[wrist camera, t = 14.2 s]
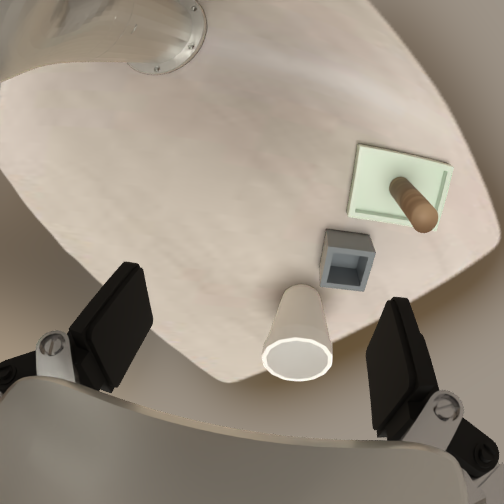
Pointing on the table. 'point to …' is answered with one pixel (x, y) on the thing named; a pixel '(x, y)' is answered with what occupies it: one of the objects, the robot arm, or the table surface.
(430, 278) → the table surface
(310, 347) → the foam cup
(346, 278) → the pen cup
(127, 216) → the table surface
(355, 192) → the tray
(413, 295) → the table surface
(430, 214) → the dowel
